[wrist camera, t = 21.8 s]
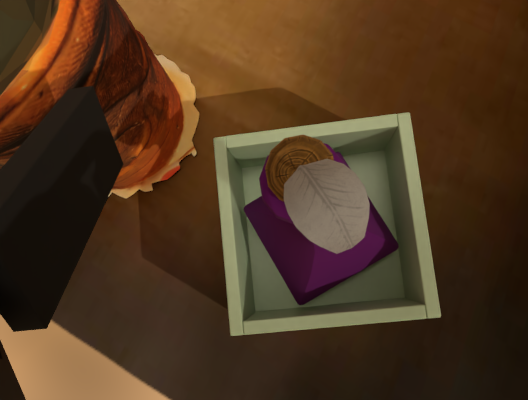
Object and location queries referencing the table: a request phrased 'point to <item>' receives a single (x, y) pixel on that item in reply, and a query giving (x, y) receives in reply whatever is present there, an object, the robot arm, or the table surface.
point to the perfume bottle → (316, 218)
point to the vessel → (95, 83)
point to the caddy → (359, 285)
